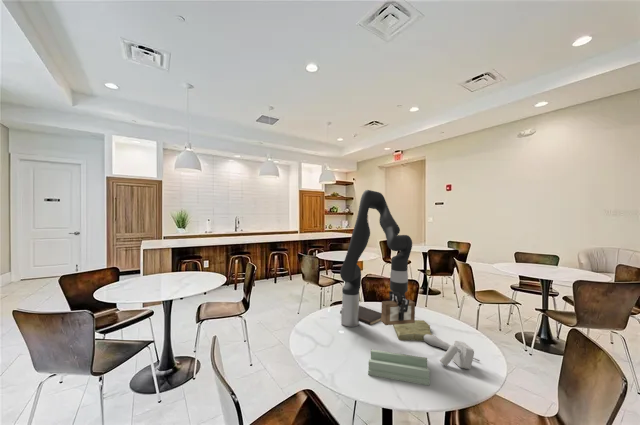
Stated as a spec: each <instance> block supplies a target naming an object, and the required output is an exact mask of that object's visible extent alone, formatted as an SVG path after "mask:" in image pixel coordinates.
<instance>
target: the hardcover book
mask: <svg viewBox="0 0 640 425" xmlns="http://www.w3.org/2000/svg"><path fill="white" fill-rule="evenodd" d="M339 313H340V314H341V310H340V312H339ZM380 321H381V312H380V311H376V310H374V309H371V308H368V307H365V306H362V305H359V323H360V322H362V323H363V324H365V325H368V326H371V325H373V324H376V323H378V322H380Z"/></svg>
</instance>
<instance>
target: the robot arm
mask: <svg viewBox="0 0 640 425" xmlns="http://www.w3.org/2000/svg"><path fill="white" fill-rule="evenodd" d="M370 209H371V210H372V209H373V210H376V211H377V212H378V214H379V219H378V220H379V225H380V227H381V230H382V231H383V233H384V234H385V238H386V244H387V247H388V248H389V249H390V250H391V251H392V252H399V253H398V254H397V255H393V256H392V257H391V263H390V264H391V265H390V266H391V269H390V278H389V279H390V281H389V289H390V290H389V291H388V295H389V301H395V302H397V306H398V307H399V308H398V310H399V317H398V320H399V321H403V320H404V312H407V310H408V305H409V300H410V299H406V293H407V292H408V290H409V288H408V287H409V274H408V272H409V269H408V268H409V266H408V263H409V258H410V256H411V252H412V250H413V240H412V238H411V236H409V235H407V234H400V232H401V230H400V226H399V225H398V224H397V222H396V220H395V219H394V217H393V215H392V214H391V211H390V208H389V206H388V204H387V202H386V199H385V196H384V195H383V193H381V192H379V191H374V190H371V189H370V190H369V189H365V190H364V191H363V193H362V195H361V198H360V202H359V207H358V210H357V216H356V220H355V224H354V227H353V229H352V234H351V238H350V241H349V244H348V248H347V252H346V256H345V258H344V261H343V263H342V265H341V267H340V271H339V274H340V278H341V280H342V281H343V282H345V283H344V285H343V287H342V290H341V291H342V292H341V294H342V296H341V297H342V302H341V303H342V304H341V305H342V306H341V310H340V311H341V316H340V317H341V318H340V319H341V320H340V321H341V322H340V324H341V326H345V327H347V328H349V327H350V328H355V327H358V326H359V325H360V324H359V323H360V321H359V306H360V289H361V286H362V285H361V284H362V271H361V268H360V266H359V265H358V263H359V259H360V257H361V256H362V254H363V253H364V251H365V249H366V248H367V246H368V244H369V240H370V238H371V237H370V236H371V229H370V225H369V221H368V214H369V210H370ZM400 304H402V305H400ZM400 307H401V308H400Z"/></svg>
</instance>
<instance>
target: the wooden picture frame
mask: <svg viewBox="0 0 640 425" xmlns="http://www.w3.org/2000/svg"><path fill="white" fill-rule="evenodd" d="M408 300H409V305H408V310H407V312H404V320H403V321H399V320H398V317H399V310H398V308H399V307H398V306H397V302H395V301H390V300H383V301H381V312H380V313H381V320H380V321H381V323H382V324H384V326H393V325H396V324H408V323H415V320H416V319H415V318H416V317H415V316H416V314H415V313H416V302H415V301H413V300H412V299H408ZM400 305H402V304H400ZM400 308H401V307H400Z"/></svg>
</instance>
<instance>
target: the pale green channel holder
mask: <svg viewBox="0 0 640 425" xmlns="http://www.w3.org/2000/svg"><path fill="white" fill-rule="evenodd" d="M367 371H368V372H367V375H369V376H373V377H378V378H379V377H380V378H383V379H384V378H385V379H391V380H395V381H402V382H406V383H407V382H409V383H412V384H413V383H414V384H419V385H425V386H430V382H431V381H430V368H428V358H427V357H424V356H418V355H417V356H416V355H412V354H411V355H409V354H404V353H397V352H391V351H384V350H378V349H377V350H376V349H371V350H370V359H368V370H367Z"/></svg>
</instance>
